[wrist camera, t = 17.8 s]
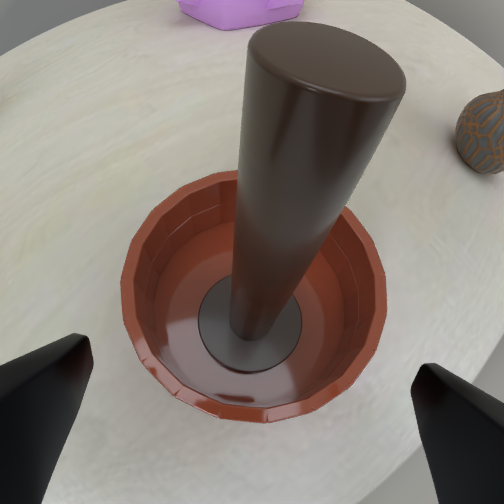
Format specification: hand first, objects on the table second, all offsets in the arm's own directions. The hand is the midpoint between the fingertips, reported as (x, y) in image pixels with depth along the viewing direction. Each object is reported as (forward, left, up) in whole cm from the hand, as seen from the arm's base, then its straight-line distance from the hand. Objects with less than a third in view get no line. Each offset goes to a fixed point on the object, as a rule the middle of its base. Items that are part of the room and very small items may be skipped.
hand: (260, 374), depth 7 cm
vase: (-13, -26, -9) cm, 30 cm away
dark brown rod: (+1, -3, -8) cm, 8 cm away
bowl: (+1, -4, -8) cm, 9 cm away
